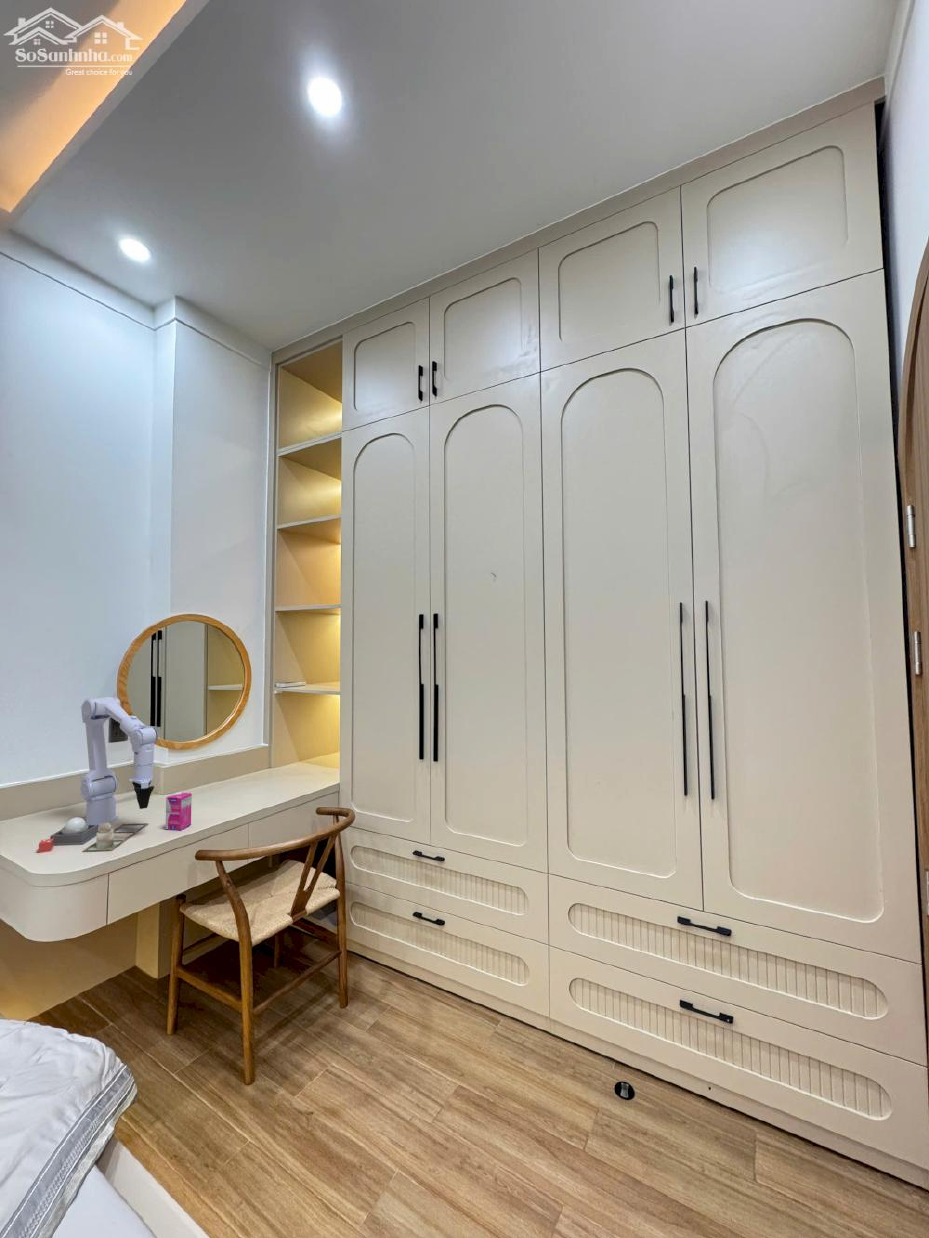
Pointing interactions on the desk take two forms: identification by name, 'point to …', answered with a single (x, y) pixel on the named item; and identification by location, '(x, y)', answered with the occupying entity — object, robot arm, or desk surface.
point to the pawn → (105, 836)
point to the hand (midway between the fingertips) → (142, 805)
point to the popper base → (75, 837)
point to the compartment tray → (119, 836)
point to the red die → (46, 845)
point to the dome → (75, 826)
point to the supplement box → (178, 811)
